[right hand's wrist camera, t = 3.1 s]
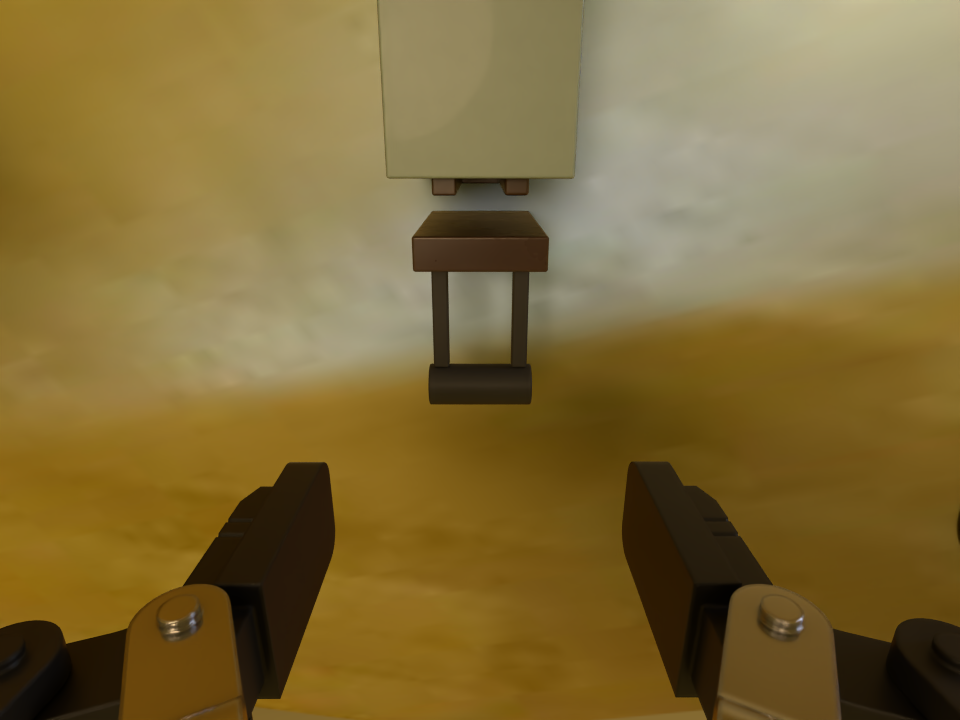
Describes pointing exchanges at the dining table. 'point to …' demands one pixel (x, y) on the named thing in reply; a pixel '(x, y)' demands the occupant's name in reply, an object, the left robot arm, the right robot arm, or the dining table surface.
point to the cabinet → (480, 87)
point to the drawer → (480, 248)
